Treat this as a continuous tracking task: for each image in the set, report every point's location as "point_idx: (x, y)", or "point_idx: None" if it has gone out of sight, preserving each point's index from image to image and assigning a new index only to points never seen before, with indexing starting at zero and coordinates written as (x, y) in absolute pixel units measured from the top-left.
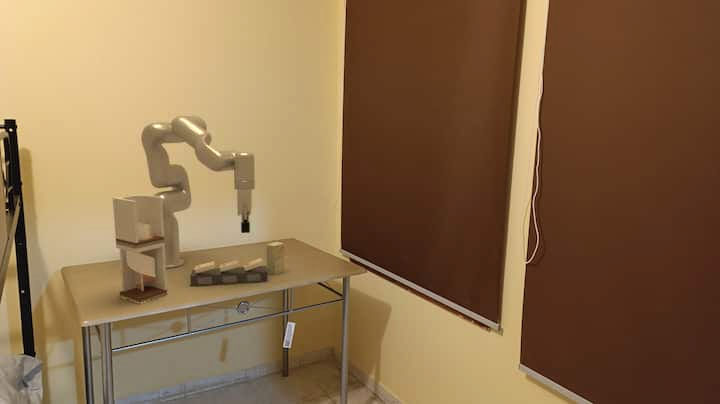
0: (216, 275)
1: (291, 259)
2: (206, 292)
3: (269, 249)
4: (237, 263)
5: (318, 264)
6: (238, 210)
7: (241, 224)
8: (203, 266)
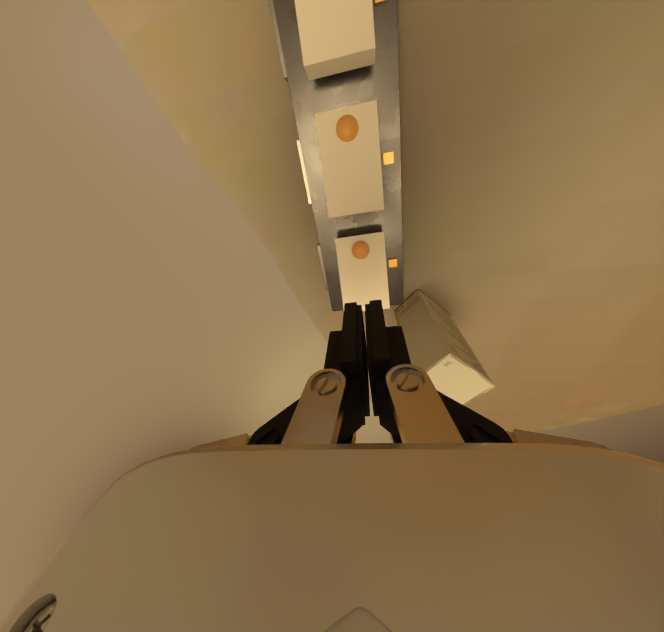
0: (293, 105)
1: (556, 352)
2: (212, 85)
3: (427, 351)
4: (328, 214)
5: (469, 406)
6: (9, 614)
7: (340, 350)
8: None
